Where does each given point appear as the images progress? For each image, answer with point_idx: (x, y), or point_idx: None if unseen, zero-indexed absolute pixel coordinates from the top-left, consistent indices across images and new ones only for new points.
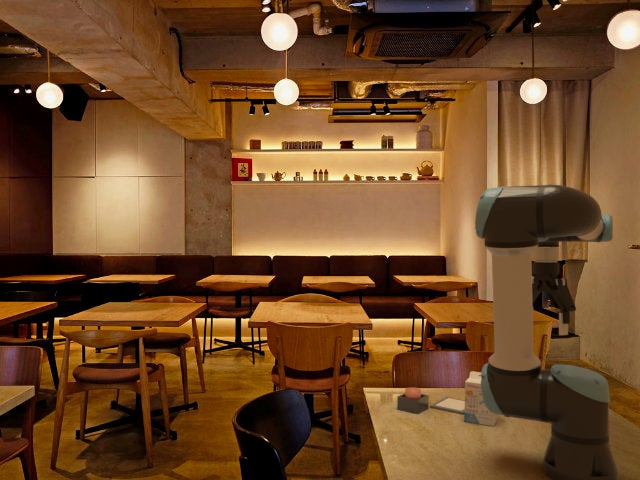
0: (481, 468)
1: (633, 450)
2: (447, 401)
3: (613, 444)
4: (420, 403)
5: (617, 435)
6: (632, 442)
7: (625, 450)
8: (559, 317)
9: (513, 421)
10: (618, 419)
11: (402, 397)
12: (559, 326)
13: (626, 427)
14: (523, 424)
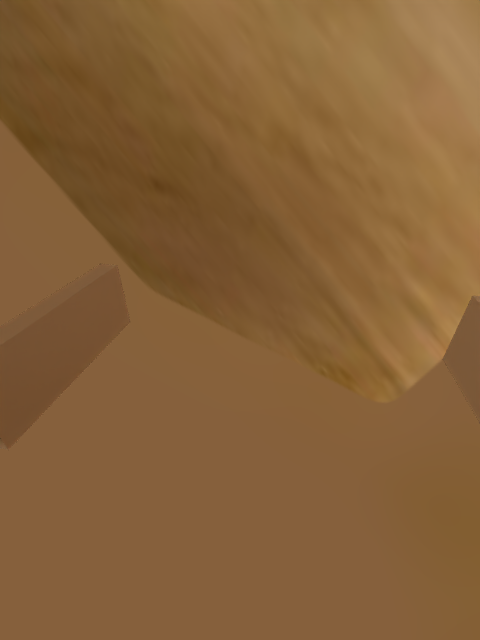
0: None
1: (40, 163)
2: None
3: (72, 153)
4: None
5: (116, 215)
6: (79, 205)
7: (40, 146)
8: (9, 338)
9: (283, 3)
10: (192, 305)
11: None
12: (72, 291)
13: (151, 275)
14: (246, 19)
